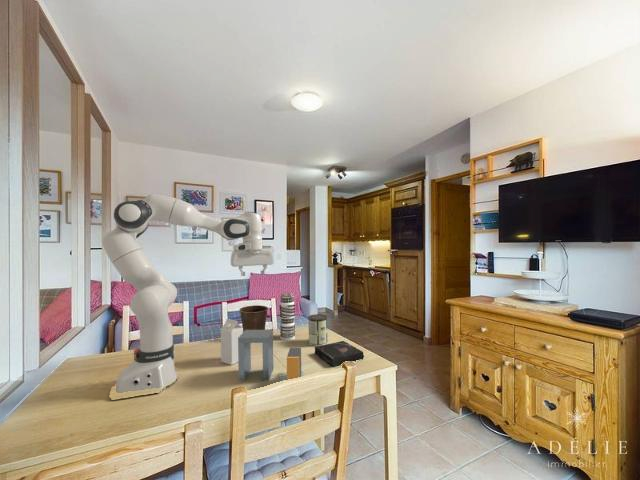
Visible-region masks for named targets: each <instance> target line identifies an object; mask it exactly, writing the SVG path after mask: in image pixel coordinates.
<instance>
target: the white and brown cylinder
mask: <svg viewBox="0 0 640 480" xmlns="http://www.w3.org/2000/svg"><path fill="white" fill-rule="evenodd" d="M279 297H280V302H279V306H278V307H279V308H278V309H279V318H280V326H279V330H280V331H279V334H280V335H279V336H280V337H279V338H280V340H283V341H291V340H295V338H296V330H295V329H296V324H295V316H296V314H295V312H296V308H295V307H296V304H295V295H294V294H293V293H291V292H284V293H282V294H281V295H280V296H279Z"/></svg>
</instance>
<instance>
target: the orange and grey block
mask: <svg viewBox="0 0 640 480" xmlns="http://www.w3.org/2000/svg"><path fill="white" fill-rule="evenodd" d="M301 371H302V347H289V350H288V352H287V356H286V374H287V380H288V379H293V378H298V377H301Z"/></svg>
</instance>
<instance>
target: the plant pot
mask: <svg viewBox="0 0 640 480" xmlns="http://www.w3.org/2000/svg"><path fill="white" fill-rule="evenodd" d="M268 310H269V307H268V306H265V305H259V304H257V305H256V304H255V305H247V306H243V307H240V308H239V312H240V318H241V324H242V325H241V326H242V327H243V332H244V331H245V330H266V322H267V316H268Z"/></svg>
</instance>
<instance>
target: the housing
mask: <svg viewBox="0 0 640 480" xmlns="http://www.w3.org/2000/svg"><path fill="white" fill-rule="evenodd" d="M251 344H262V381H265V382H266V381H270V379H271V376H272V373H273V371H274V330H273V329H265V330H245V331H244V332H243V333H242V334H241V335H240V336H239V337H238V362H237V363H238V367H237V368H238V381H239V380H244V381H245V380H246V379H247V377H248V375H249V374H250V372H251V370H252V353H251V352H252V351H251V350H252V345H251Z"/></svg>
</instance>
